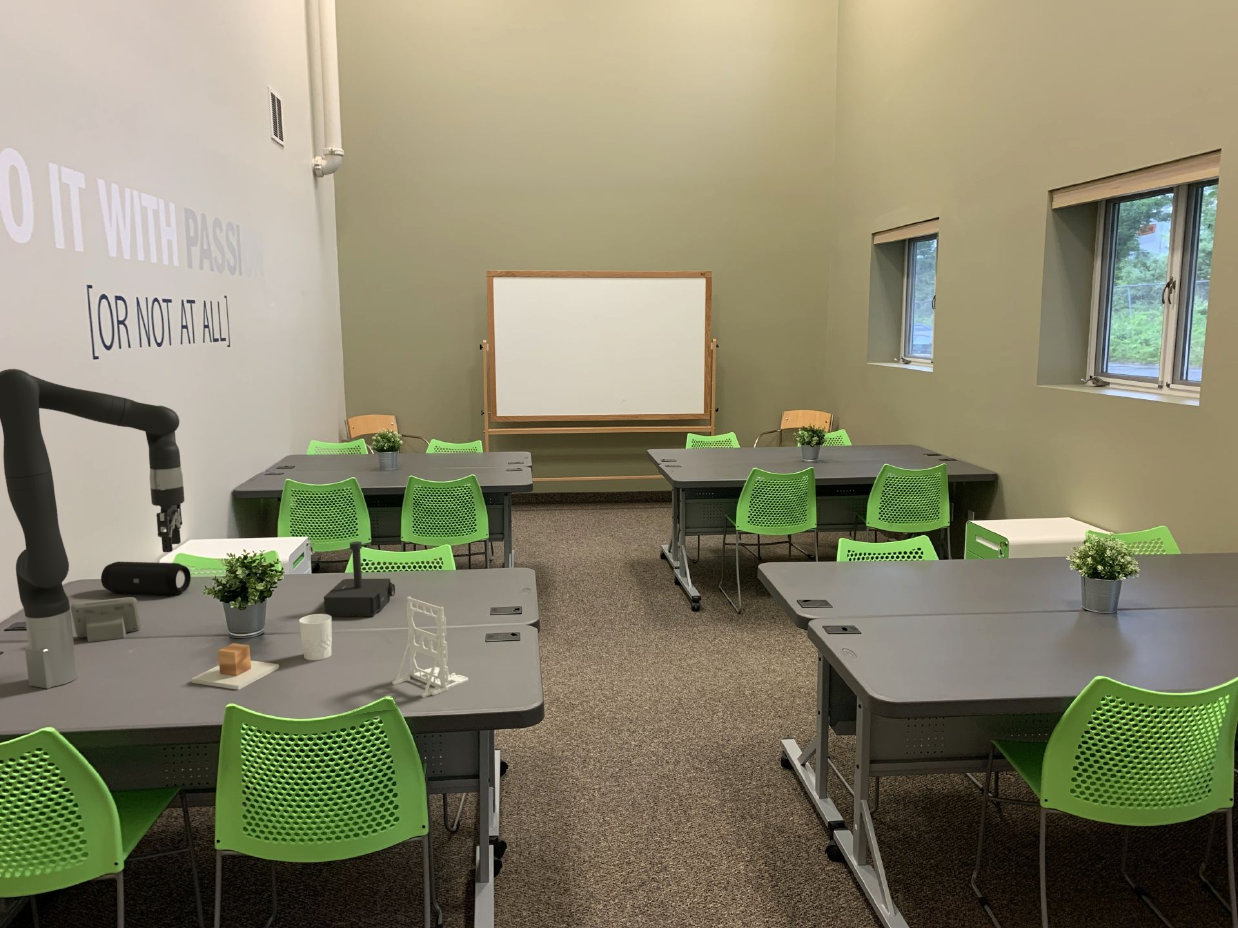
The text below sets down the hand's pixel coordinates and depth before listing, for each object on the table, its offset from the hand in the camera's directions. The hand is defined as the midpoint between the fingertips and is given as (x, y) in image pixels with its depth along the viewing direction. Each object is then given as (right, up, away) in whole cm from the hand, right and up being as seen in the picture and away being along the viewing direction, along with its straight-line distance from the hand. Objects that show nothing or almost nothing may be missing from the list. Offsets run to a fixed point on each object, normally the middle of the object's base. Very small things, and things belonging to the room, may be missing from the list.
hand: (171, 547), depth 235 cm
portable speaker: (-37, -20, +60) cm, 73 cm away
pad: (+20, -30, -10) cm, 38 cm away
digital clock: (-27, -26, +20) cm, 43 cm away
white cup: (+36, -28, +3) cm, 46 cm away
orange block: (+20, -29, -10) cm, 37 cm away
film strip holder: (+69, -31, -15) cm, 77 cm away
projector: (+37, -22, +42) cm, 60 cm away
